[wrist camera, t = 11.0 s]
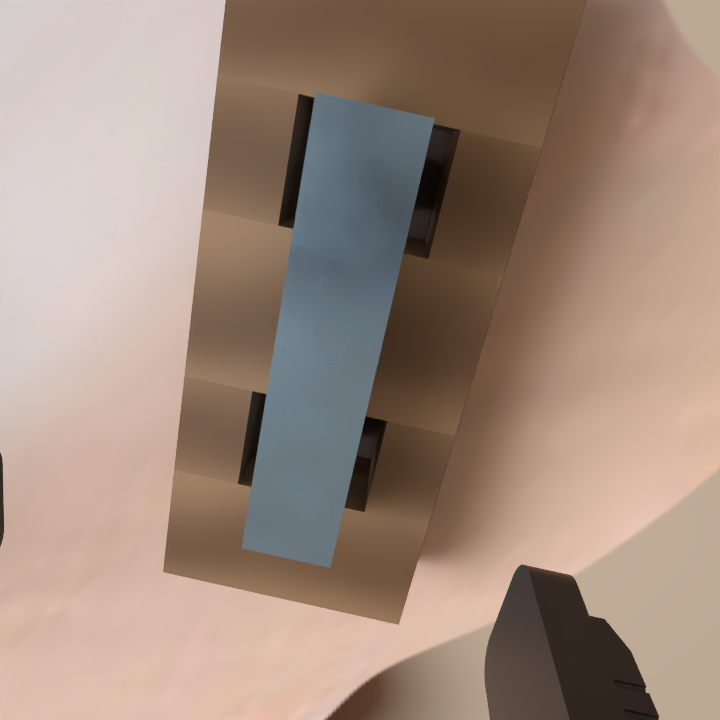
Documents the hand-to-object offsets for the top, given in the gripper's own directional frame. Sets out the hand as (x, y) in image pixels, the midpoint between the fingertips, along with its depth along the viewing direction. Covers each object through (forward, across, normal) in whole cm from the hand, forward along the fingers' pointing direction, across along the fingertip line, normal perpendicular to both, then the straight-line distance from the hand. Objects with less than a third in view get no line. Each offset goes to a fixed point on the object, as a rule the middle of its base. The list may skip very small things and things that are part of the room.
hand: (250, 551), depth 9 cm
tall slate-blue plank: (+16, 0, 0) cm, 16 cm away
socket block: (+16, 0, 0) cm, 16 cm away
